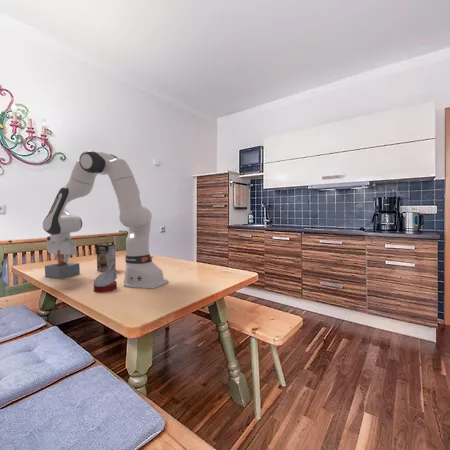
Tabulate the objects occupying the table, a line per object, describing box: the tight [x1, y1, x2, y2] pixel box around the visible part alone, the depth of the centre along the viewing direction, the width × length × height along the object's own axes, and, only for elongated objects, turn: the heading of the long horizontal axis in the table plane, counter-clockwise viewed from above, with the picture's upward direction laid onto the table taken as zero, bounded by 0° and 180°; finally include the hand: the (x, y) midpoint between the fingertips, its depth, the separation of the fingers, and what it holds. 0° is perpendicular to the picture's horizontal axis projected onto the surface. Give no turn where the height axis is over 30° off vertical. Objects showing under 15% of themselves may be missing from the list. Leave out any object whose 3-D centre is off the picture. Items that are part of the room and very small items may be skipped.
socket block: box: [44, 261, 81, 280], centre depth 144 cm, size 12×12×6 cm
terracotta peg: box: [57, 250, 67, 266], centre depth 144 cm, size 4×4×12 cm
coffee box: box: [96, 243, 117, 272], centre depth 155 cm, size 9×6×16 cm
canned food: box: [93, 270, 118, 294], centre depth 118 cm, size 11×10×10 cm
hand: (62, 261), depth 144 cm, fingers closed on terracotta peg, 4 cm apart
